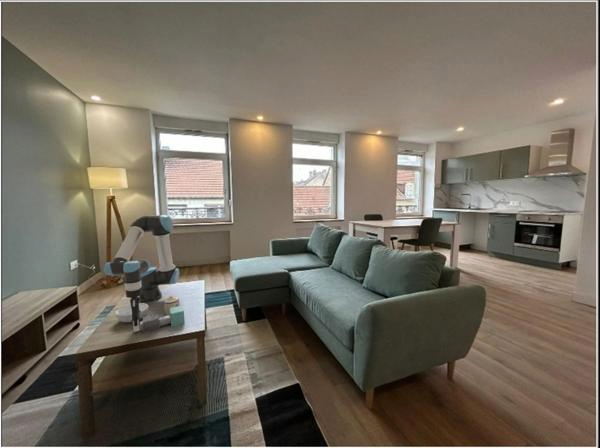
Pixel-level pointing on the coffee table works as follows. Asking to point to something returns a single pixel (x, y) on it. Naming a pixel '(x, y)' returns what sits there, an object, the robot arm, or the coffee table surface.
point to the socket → (177, 316)
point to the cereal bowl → (130, 312)
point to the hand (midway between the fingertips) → (137, 327)
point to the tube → (162, 321)
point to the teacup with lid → (170, 304)
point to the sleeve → (151, 323)
